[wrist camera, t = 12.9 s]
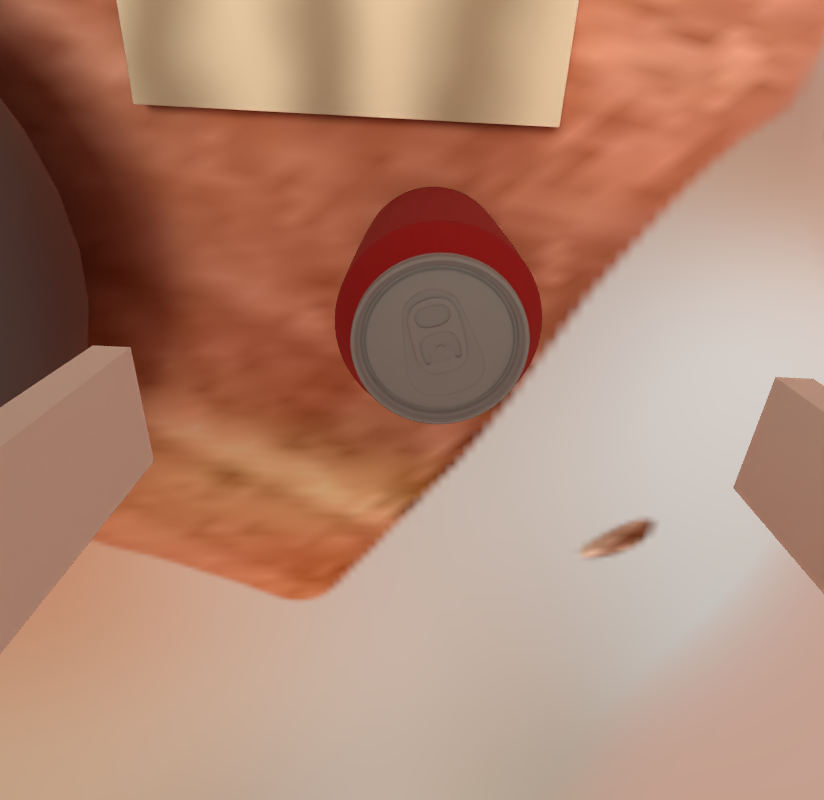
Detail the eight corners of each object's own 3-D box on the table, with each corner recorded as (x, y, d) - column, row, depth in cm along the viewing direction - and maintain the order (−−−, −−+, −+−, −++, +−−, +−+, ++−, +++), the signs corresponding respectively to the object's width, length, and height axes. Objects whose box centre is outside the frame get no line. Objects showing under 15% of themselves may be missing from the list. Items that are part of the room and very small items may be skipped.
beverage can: (385, 336, 29) (364, 462, 18) (345, 205, 26) (292, 265, 15) (511, 304, 28) (568, 418, 17) (485, 166, 25) (535, 199, 14)
